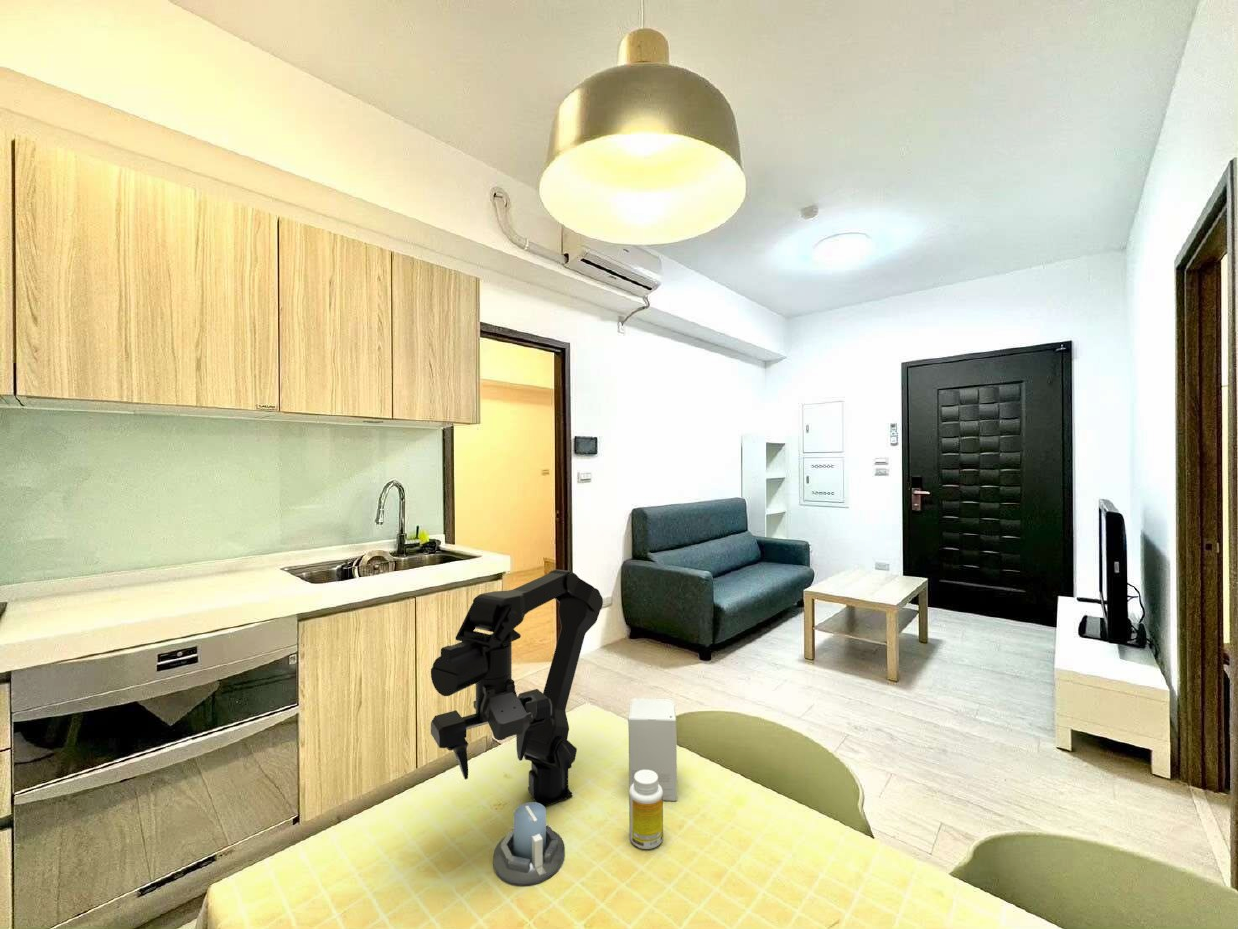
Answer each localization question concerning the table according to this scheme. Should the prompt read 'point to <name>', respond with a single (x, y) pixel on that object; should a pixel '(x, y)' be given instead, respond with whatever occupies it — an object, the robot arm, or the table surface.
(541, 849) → the knob
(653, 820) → the supplement bottle
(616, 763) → the table surface
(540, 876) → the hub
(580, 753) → the table surface
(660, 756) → the supplement box
